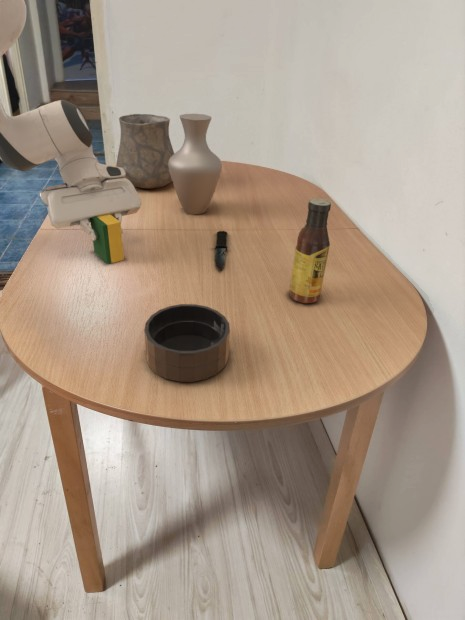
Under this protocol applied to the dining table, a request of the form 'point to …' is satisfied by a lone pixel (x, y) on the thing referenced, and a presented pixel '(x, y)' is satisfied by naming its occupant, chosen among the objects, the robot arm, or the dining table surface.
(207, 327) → the bowl
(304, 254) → the sauce bottle
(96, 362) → the dining table surface
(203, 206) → the vase
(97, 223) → the sponge
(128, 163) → the vessel
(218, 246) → the knife
